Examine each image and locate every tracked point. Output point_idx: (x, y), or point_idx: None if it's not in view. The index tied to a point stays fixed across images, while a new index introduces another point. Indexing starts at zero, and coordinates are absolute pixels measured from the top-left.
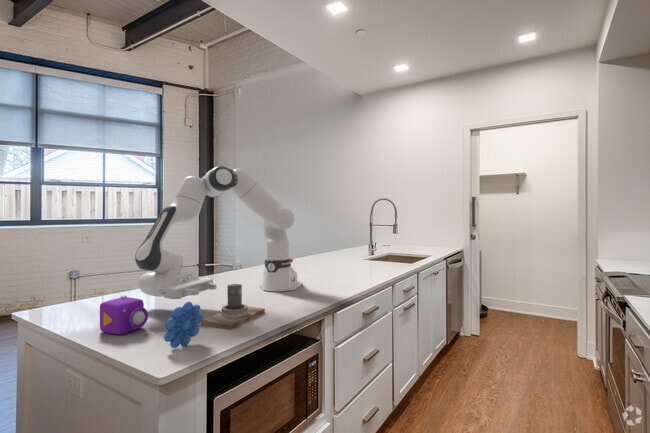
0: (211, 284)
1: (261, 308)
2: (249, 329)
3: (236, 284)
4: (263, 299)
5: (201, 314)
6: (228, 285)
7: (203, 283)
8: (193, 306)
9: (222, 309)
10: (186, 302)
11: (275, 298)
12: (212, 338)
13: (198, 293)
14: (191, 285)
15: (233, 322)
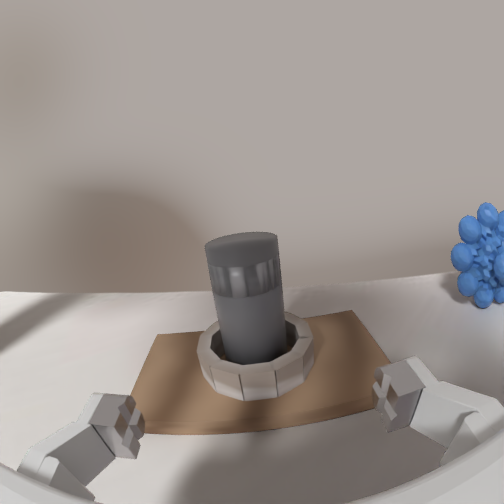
0: (99, 421)
1: (157, 340)
2: (320, 305)
3: (216, 245)
4: (5, 395)
5: (454, 246)
6: (254, 246)
7: (84, 501)
8: (475, 218)
9: (307, 351)
10: (491, 204)
11: (5, 372)
12: (421, 309)
13: (379, 388)
14: (389, 489)
15: (335, 317)
